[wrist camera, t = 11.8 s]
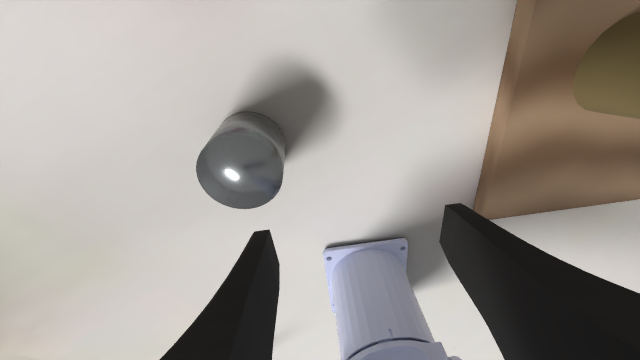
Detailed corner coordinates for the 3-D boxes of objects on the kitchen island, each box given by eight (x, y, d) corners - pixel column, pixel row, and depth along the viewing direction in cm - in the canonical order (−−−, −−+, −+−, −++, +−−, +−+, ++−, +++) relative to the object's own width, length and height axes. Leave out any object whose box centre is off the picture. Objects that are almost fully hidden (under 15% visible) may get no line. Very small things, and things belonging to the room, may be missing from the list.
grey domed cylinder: (290, 170, 21) (289, 203, 17) (227, 178, 21) (212, 213, 17) (278, 106, 19) (273, 129, 15) (206, 117, 19) (182, 142, 15)
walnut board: (626, 188, 25) (644, 198, 23) (472, 209, 25) (482, 220, 23) (830, -186, 13) (887, -208, 12) (548, -147, 13) (575, -165, 12)
